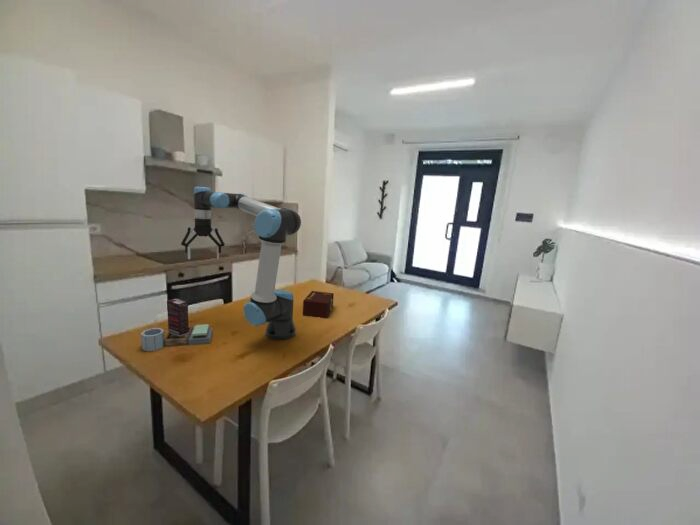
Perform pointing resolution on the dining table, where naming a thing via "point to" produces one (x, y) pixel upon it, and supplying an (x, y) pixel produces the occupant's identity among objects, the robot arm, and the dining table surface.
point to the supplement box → (178, 317)
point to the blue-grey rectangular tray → (200, 338)
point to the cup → (152, 339)
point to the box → (318, 304)
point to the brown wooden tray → (177, 339)
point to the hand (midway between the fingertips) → (203, 259)
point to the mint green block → (200, 330)
